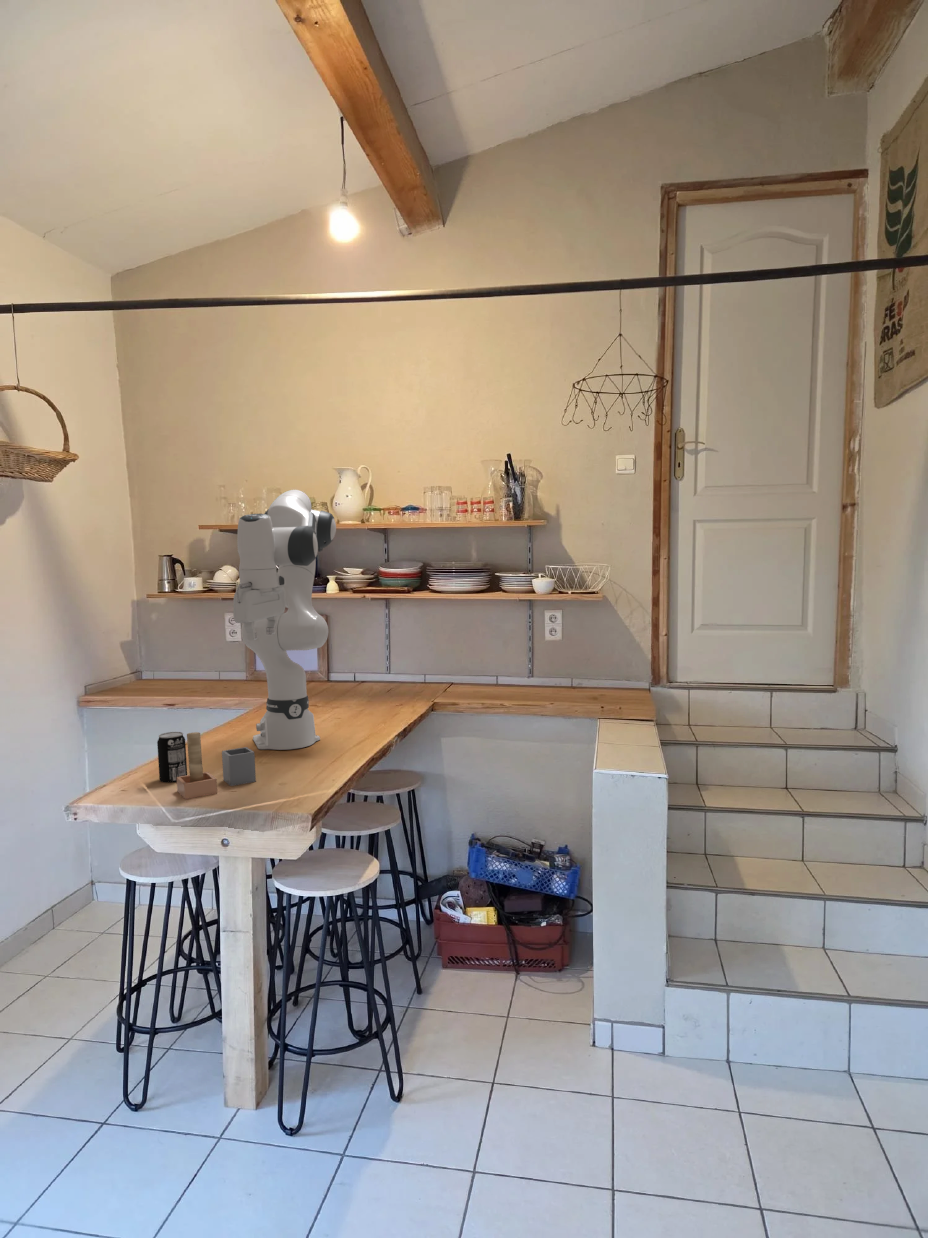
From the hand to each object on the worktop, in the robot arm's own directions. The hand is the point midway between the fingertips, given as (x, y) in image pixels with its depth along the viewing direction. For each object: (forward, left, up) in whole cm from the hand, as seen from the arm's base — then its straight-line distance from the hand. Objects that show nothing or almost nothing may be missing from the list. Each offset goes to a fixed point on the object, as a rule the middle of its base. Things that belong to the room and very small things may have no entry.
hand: (261, 637), depth 194 cm
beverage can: (-14, -20, -36) cm, 44 cm away
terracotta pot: (+1, -18, -36) cm, 40 cm away
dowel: (+1, -18, -35) cm, 40 cm away
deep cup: (-2, -7, -36) cm, 37 cm away
